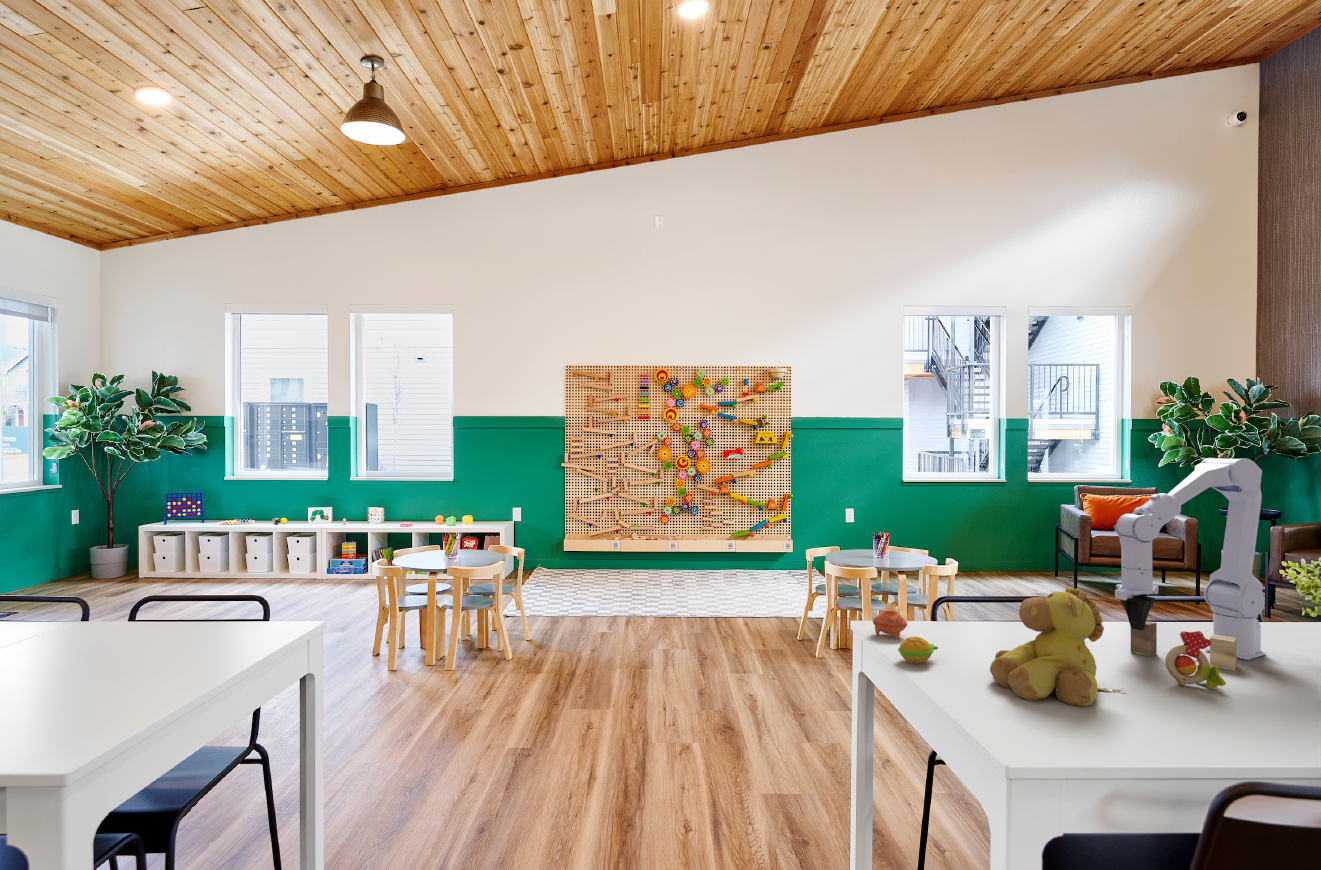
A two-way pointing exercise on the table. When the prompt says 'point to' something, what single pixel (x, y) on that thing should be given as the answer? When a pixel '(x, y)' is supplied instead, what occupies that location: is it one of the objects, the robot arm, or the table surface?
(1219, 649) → the oak block
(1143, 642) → the walnut block
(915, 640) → the yellow green oval toy
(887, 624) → the pot
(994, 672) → the giraffe plush
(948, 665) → the table surface
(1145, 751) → the table surface
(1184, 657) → the bird rattle
